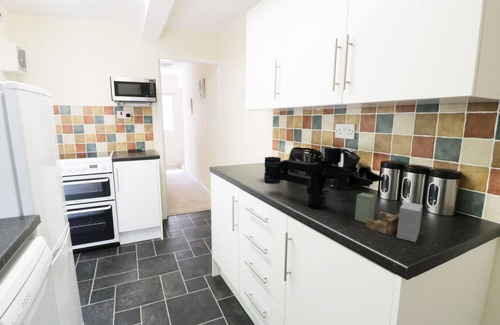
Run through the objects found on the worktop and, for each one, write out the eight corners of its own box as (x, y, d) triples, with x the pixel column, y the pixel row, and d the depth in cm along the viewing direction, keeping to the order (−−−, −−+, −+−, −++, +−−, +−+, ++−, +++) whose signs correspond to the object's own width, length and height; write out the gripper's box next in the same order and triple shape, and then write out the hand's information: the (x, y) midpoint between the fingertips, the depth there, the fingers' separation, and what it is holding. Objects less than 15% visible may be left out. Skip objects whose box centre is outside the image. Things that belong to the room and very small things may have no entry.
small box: (400, 229, 92) (403, 201, 90) (419, 234, 88) (423, 204, 87) (396, 237, 86) (399, 207, 84) (415, 242, 82) (419, 211, 81)
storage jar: (260, 181, 159) (261, 157, 157) (271, 179, 166) (272, 156, 163) (272, 184, 152) (273, 159, 150) (283, 182, 159) (284, 158, 156)
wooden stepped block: (365, 227, 94) (366, 214, 93) (380, 218, 102) (381, 206, 101) (390, 235, 87) (391, 221, 86) (403, 225, 95) (405, 212, 95)
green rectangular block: (354, 219, 101) (356, 194, 99) (360, 216, 104) (362, 192, 102) (367, 223, 97) (370, 197, 95) (373, 220, 100) (375, 195, 98)
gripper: (327, 155, 98) (368, 161, 86) (352, 152, 110) (391, 156, 98) (325, 184, 100) (365, 193, 88) (350, 177, 112) (388, 184, 100)
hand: (378, 180), depth 94 cm, fingers open, 9 cm apart
